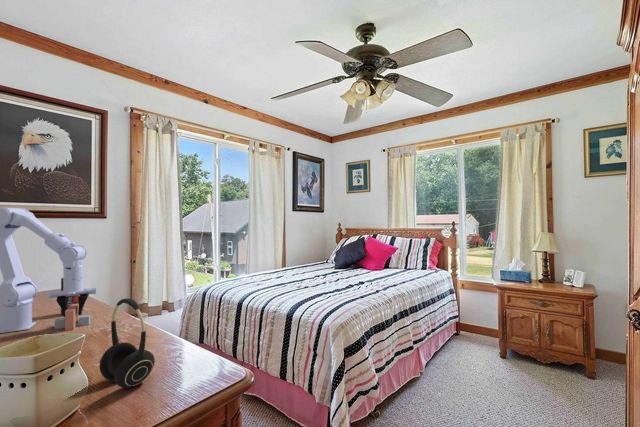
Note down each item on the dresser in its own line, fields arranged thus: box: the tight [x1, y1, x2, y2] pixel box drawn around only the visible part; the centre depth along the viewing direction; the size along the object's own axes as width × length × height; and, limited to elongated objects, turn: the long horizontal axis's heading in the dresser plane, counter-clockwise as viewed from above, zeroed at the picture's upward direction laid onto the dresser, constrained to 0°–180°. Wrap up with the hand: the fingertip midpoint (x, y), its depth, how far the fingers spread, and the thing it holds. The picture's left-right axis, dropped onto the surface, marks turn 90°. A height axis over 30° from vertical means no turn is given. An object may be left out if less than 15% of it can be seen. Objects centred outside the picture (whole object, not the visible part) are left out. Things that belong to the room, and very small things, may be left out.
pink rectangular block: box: [64, 304, 81, 331], centre depth 115 cm, size 2×10×7 cm, turn 27°
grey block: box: [54, 314, 91, 330], centre depth 115 cm, size 10×2×3 cm, turn 117°
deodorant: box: [60, 277, 80, 317], centre depth 131 cm, size 6×6×15 cm
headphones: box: [99, 298, 156, 389], centre depth 75 cm, size 9×15×20 cm, turn 58°
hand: (72, 315), depth 115 cm, fingers open, 4 cm apart
